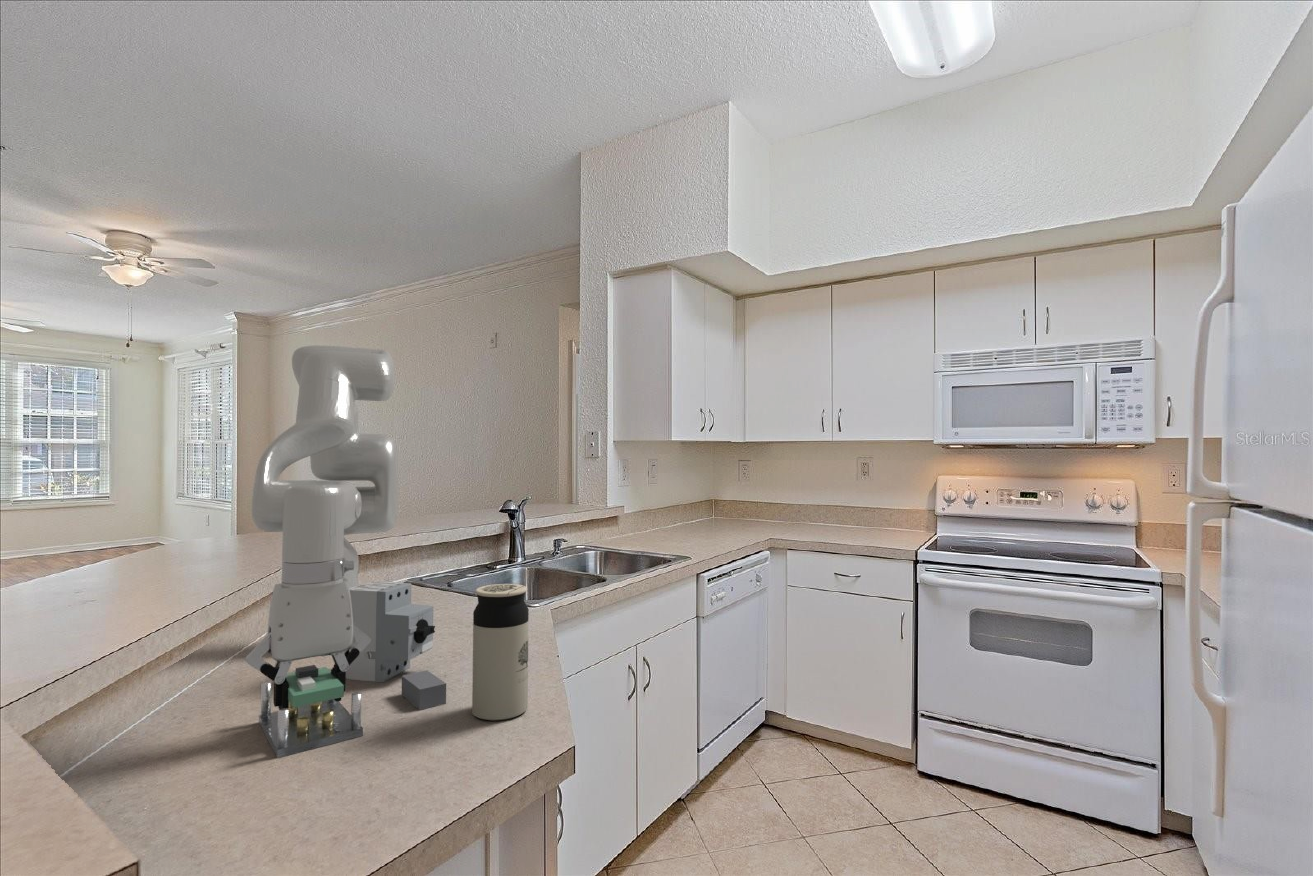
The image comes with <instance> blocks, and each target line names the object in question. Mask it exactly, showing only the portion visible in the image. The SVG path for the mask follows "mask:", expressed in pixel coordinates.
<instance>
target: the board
mask: <svg viewBox="0 0 1313 876" xmlns="http://www.w3.org/2000/svg"><path fill="white" fill-rule="evenodd" d="M329 670H330V669H328V667H327V666H324V667H317V666H316V665H315V664H312V665H305V666H299V667H295V672H293V673H292V672H291V673H287V675H286V677H287V681H288V683H289V688H288V701H289V702H290V704H291V705H292V707H293V708H295V707H300V706H304V705H309V704H313V703H318V702H322V701H327V700H331V699H336V698H341V699H342V698H344V697H345V696H344V695H345V692H344V685H343V684H342V683H341V682H340V681H339V680H338V679H336V678H335V677H334V676H333V675H332V674H331V672H330V671H329Z"/></svg>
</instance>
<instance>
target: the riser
mask: <svg viewBox="0 0 1313 876" xmlns="http://www.w3.org/2000/svg"><path fill="white" fill-rule="evenodd" d="M401 696H402V697H403V698H404V699H406V700H407V701H408V702H410V704H412V705H413V706H414V707H416V708H417V709H418V711H421V710H426V709H429V708H435V707H437V706H441V705H445V704H447V683H446V682H444V681H443V679H440V678H439V677H437V676H436V675H434V674H433V673H432V672H431V671H429V670H423V671H417V672H413V673H409V674H403V675H401Z"/></svg>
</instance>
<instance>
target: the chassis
mask: <svg viewBox="0 0 1313 876" xmlns="http://www.w3.org/2000/svg"><path fill="white" fill-rule="evenodd" d="M328 670H329V671H330V672H331V669H328ZM260 689H261V690H260V691H261V692H260V714H259V715H258V724H259V725H260V728H261V730H262V731H263V733H264V735H265V738H266V739H267V740H268V741H267V742H268V743H269V745H270V747H271V749H272V751H273V752H274V754H275V757H276V759H279V758H283V757H287V756H290V755H294V754H298V753H301V752H302V753H303V752H306V751H310V750H313V749H317V748H321V747H324V746H328V745H332V744H337V743H340V742H345V741H348V740H352V739H356V738H360V737H363V736H364V728H363V726H362V692H361V691H360V692H358V691H357V692H354V693H352V694H351V706H350V707H351V711H350V712H351V713H350V712H349V710H347V709H346V707H345V706H344V705H343V704H342V702H341V701H338V702H337V701H335V700H334V699H331V700H327V701H322V702H318V703H313V704H309V705H304V706H300V707H295V708H293V707H292V705H291V704H290V702H289V708H283V709H280V710H279V709H278V710H277V711H272V712H271V707H272V681H264V682H262V683H261V685H260Z"/></svg>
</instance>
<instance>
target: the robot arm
mask: <svg viewBox="0 0 1313 876" xmlns="http://www.w3.org/2000/svg"><path fill="white" fill-rule="evenodd" d="M291 366H292V370H293V373H294V374H293V375H294V378H295V379H296V382H297V384H298V398H297V407H296V414H295V415H296V417H295V423H294V424H293V425H292V426H290V427H289V428H288V429H286V430H285V431H283V432H282V433H280V435H278V436H277V437H276V438H275V439H274V440H273V441H272V442H271V443H269V445H268V446H267V448H266V449H265V450H264V452H263V453H262V454H261V457H260V458H259V460H258V463H257V466H256V470H255V476H254V477H255V478H254V483H253V489H252V497H251V511H250V512H251V518H252V521H253V523H254V524H255V526H256V527H257V528H258V529H260V530H262V531H264V532H268V533H269V532H270V533H282V542H281V543H282V545H281V546H282V548H281V583H277V584H275V585H274V587H273V590H272V594H271V595H272V596H271V598H270V599H271V600H270V606H269V613H268V621H267V623H268V624H267V633H266V636H264V637H263V638H262V639H261V641H260V642H259V643H257V645H256V646H255V647H254V648H253V649H252V650H251V651H250V652H249V653H248V654H247V655H246V657H245V662H246V663H247V665H250V666H251V667H252V668H254V669H256V670H257V671H258V672H259V673H261V674H262V675H264V676H265V677H266V678H268V679H270V680H271V682H273V705H274V707H275V708H277V707H278V710H280V709H283V708H289V701H288V688H289V683H288V681H287V677H286V675H287V674H289V670H290V669H291V665H292V664H293V661H298V660H304V659H310V658H317V657H321V656H327V655H331V658H332V661H333V663H334V664H333V667H332V668H331V669H330V670H331V674H332V675H333V676H334V677H335V678H336V679H338V680H339V681H340V682H341V683H342V684H343V685H344V693H345V692H346V688H347V687H346V681H347V678H346V671H347V670H348V669H349V666H350V664H351V663H352V662H353V661H354V660H355V659H356V658H357V657H358V655H359V653H360V652H361V651H362V650H363V649H364V648H365V647H366V646H367V645H368V644H369V643H370V642H371V639H370V637H368V636H367V635H366V634H365V633H364V632H362V631H361V630H360V629H359V628H358V627H357V626H355V625H354V624H353V614H352V604H351V595H350V589H349V588H352V587H355V586H359V564H360V563H359V561H360V560H359V558H360V557H359V553H358V552H357V550H356V549H355V547H354V546H353V544H352V543H350V541H348V540H347V538H346V537H345V536H348V535H355V534H360V535H361V534H377V533H378V534H379V533H386V532H389V531H391V530H392V529H394V528H395V526H396V522H397V520H398V519H397V518H398V503H399V501H398V498H399V497H398V493H399V492H398V491H399V489H398V488H399V486H398V485H399V483H398V482H399V481H398V479H399V477H398V475H399V456H398V455H399V454H398V448H397V445H396V441H395V440H394V439H393V438H392V437H390V436H389V435H387V434H382V433H360V431H359V409H358V406H357V404H356V401H368V402H370V401H372V402H385V401H387V400H389V399H390V398H391V397H392V396H393V395H392V394H393V393H394V389H395V383H396V382H395V381H396V376H395V375H396V371H395V362H394V359H393V356H392V355H391V354H390V352H389V351H387V350H385V349H376V348H365V347H364V348H363V347H362V348H361V347H347V346H340V345H339V346H335V345H317V344H316V345H305V346H301V347H299V348H296V349H295V350H294V351H293V353H292V357H291ZM308 457H309V459H310V461H309V462H310V469H311V473H312V474H313V476H314V477H315V478H316V479H319V480H312V479H311V480H307V479H305V480H304V479H303V480H301V479H300V480H279V478H280V475H281V474H282V473H283V472H284V471H286V469H287V468H288V467H290V466H291V465H293V464H295V463H296V462H298V461H300V460H302V459H305V458H308ZM350 481H351V482H353V481H358V482H359V481H361V482H362V481H363V482H364V481H368V482H371V483H372V484H373V485H374V486H355V485H354V484H352V483H351V482H350ZM353 636H354V637H355V638H356V642H355V643H354V645H353V646H352V647H351V645H352V643H353ZM348 648H349V649H348ZM347 649H348V650H347ZM345 650H347V651H346V652H345V653H344V652H343V651H345ZM267 653H268V654H270V655H271V656H272V659H273V661H276V662H275V664H274V666H273V665H272V664H270V663H269V662H268V661H266V660H264V659H263V657H264V655H266V654H267ZM334 700H335V701H337V702H338V701H339V702H341V701H342V697H341V698H336V699H334Z"/></svg>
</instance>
